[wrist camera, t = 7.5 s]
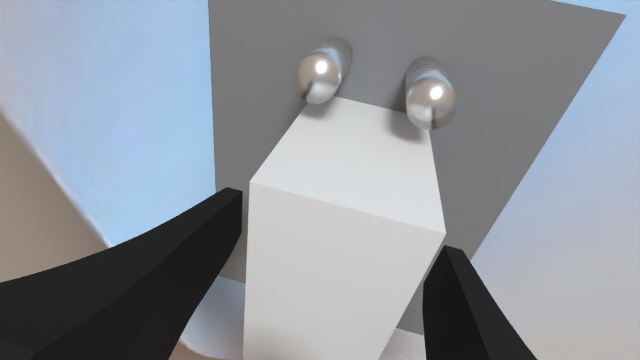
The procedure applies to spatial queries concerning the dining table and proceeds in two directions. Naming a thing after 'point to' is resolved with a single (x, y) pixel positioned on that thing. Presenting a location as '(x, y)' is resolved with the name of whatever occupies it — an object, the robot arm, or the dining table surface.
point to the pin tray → (404, 89)
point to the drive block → (339, 233)
